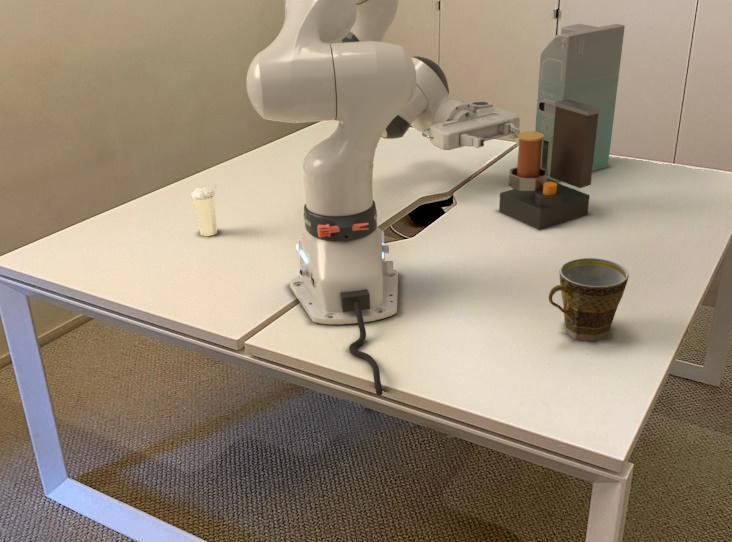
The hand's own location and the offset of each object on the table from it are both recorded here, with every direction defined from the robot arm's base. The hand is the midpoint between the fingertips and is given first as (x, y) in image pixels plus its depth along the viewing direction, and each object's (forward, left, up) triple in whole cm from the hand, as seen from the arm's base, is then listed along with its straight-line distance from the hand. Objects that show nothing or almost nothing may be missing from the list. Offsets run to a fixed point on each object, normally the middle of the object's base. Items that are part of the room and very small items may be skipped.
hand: (499, 138), depth 170 cm
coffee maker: (-9, -7, -7) cm, 14 cm away
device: (+14, -21, -13) cm, 29 cm away
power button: (-14, -6, -7) cm, 17 cm away
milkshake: (-4, +60, -13) cm, 61 cm away
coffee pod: (-8, -4, -7) cm, 11 cm away
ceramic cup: (-58, +4, -13) cm, 59 cm away
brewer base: (-9, -7, -13) cm, 17 cm away
